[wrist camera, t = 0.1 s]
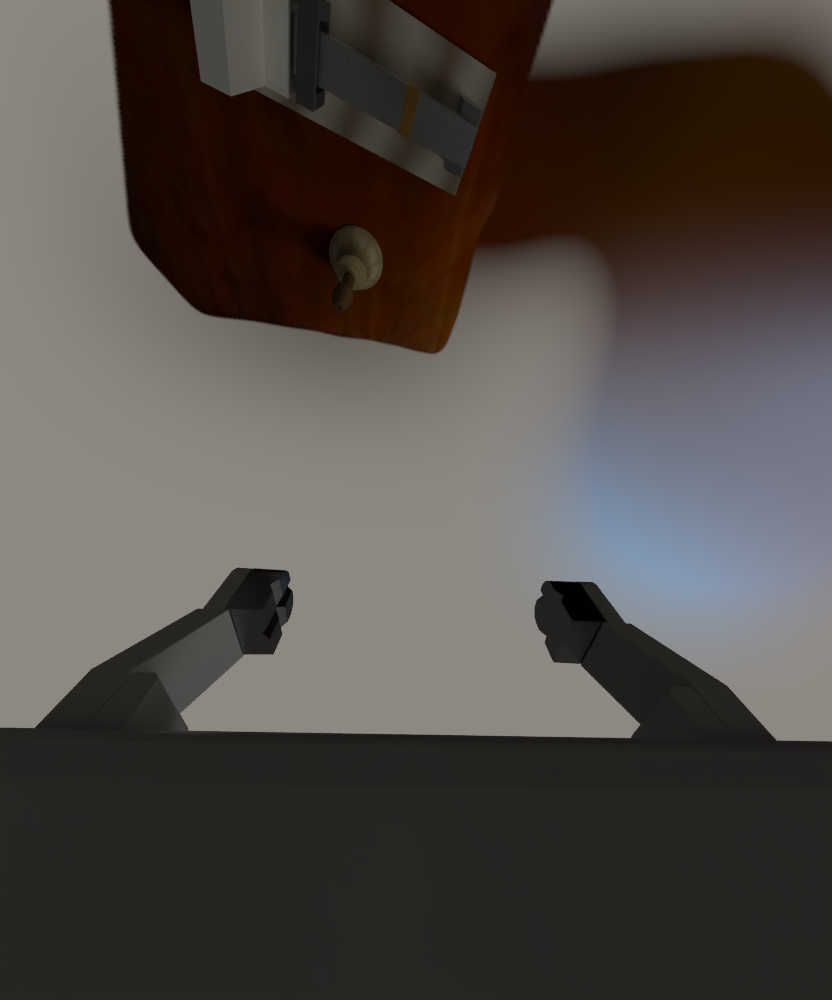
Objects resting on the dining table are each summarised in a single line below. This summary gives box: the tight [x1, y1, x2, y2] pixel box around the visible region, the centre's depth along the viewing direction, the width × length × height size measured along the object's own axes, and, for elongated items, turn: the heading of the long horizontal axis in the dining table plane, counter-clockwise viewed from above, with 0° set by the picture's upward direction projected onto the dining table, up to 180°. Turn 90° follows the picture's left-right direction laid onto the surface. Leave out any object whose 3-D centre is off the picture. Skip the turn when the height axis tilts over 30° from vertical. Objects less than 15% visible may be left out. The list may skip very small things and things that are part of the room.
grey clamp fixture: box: [291, 10, 482, 178], centre depth 30 cm, size 26×5×7 cm, turn 70°
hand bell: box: [329, 225, 383, 313], centre depth 43 cm, size 8×8×16 cm
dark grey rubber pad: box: [296, 0, 331, 112], centre depth 28 cm, size 2×6×6 cm, turn 160°
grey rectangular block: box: [190, 0, 297, 98], centre depth 25 cm, size 4×6×15 cm, turn 160°
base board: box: [254, 0, 496, 196], centre depth 33 cm, size 28×10×1 cm, turn 70°
